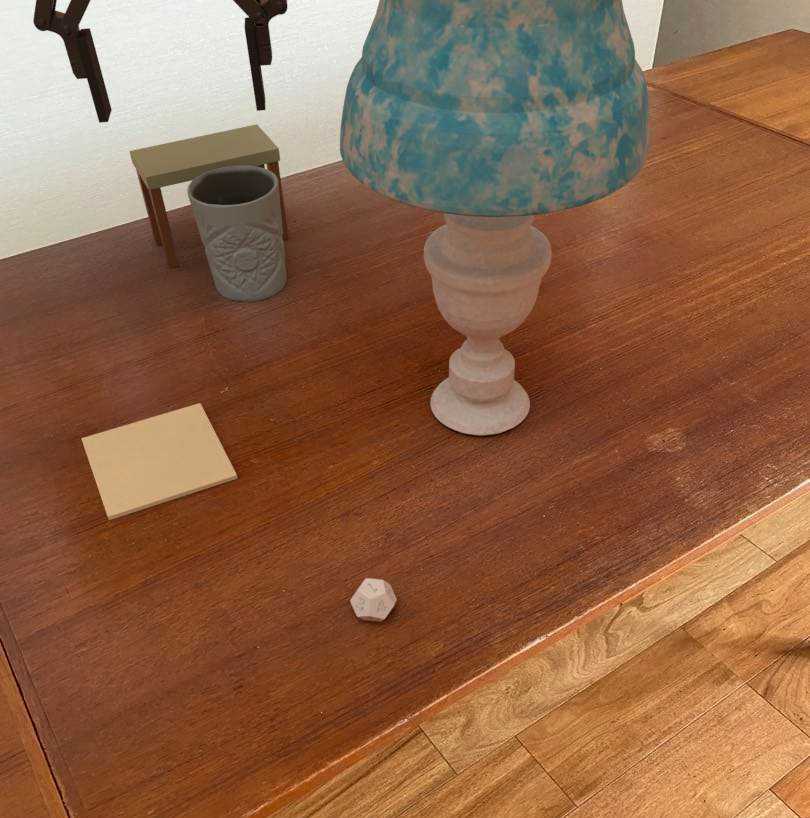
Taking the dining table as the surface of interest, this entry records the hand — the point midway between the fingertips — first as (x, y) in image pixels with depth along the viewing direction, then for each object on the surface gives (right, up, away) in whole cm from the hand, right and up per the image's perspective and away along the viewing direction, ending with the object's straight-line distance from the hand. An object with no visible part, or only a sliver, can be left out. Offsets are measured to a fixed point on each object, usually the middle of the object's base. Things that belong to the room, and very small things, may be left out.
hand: (183, 110), depth 76 cm
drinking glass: (+1, -7, +28) cm, 29 cm away
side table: (-4, +1, +35) cm, 35 cm away
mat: (-4, -30, +6) cm, 31 cm away
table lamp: (+27, -25, +10) cm, 38 cm away
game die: (+17, -44, -7) cm, 47 cm away
